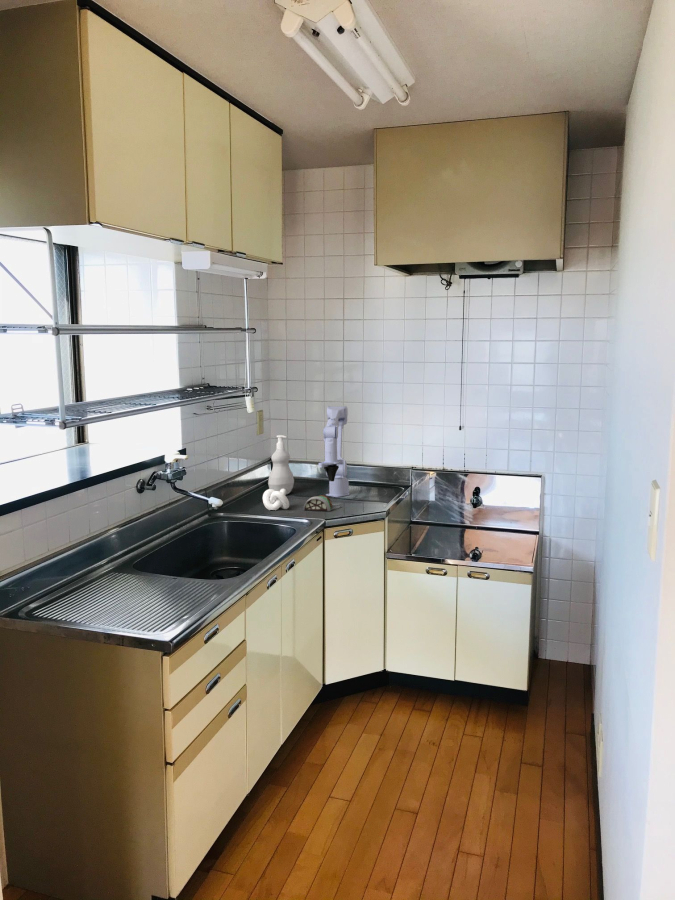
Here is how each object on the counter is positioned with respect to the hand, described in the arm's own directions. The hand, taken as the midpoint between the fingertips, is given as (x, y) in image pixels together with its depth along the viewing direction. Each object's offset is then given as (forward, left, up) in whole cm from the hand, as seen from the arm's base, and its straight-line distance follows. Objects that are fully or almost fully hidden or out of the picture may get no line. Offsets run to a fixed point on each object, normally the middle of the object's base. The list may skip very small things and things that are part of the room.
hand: (331, 481), depth 333 cm
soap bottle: (+1, -35, -10) cm, 36 cm away
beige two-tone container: (+9, +4, -7) cm, 12 cm away
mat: (+9, +3, -10) cm, 14 cm away
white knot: (+26, -9, -11) cm, 29 cm away
